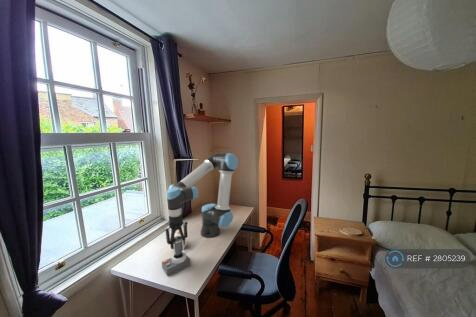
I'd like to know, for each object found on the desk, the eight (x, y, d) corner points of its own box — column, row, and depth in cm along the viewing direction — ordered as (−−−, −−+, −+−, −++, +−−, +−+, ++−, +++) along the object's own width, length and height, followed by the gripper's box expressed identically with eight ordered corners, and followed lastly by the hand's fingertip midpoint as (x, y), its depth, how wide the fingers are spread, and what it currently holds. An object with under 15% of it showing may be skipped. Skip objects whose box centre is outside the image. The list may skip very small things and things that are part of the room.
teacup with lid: (169, 249, 134) (168, 233, 133) (178, 242, 142) (177, 227, 141) (183, 253, 130) (182, 236, 128) (191, 245, 138) (190, 230, 136)
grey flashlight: (181, 254, 121) (179, 234, 119) (184, 258, 117) (182, 237, 115) (173, 257, 118) (171, 237, 116) (176, 261, 114) (174, 241, 112)
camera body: (184, 257, 125) (183, 248, 124) (190, 264, 118) (189, 255, 117) (162, 267, 116) (161, 258, 115) (167, 276, 109) (166, 265, 108)
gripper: (186, 208, 122) (189, 243, 125) (158, 217, 111) (161, 254, 114) (192, 212, 116) (194, 248, 119) (162, 221, 105) (165, 260, 108)
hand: (178, 251), depth 117 cm, fingers closed on grey flashlight, 4 cm apart
